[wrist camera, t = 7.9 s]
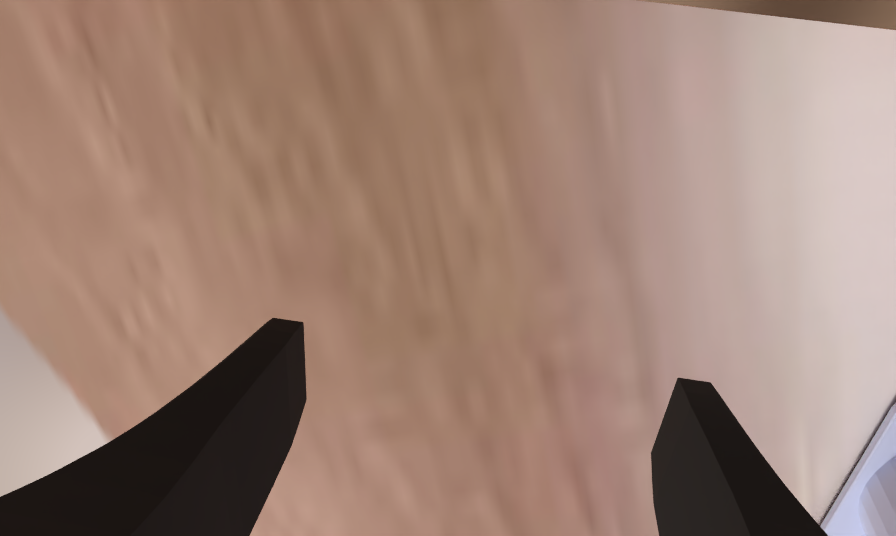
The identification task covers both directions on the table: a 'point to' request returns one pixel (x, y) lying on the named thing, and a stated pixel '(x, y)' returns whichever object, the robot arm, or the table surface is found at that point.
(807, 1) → the walnut block
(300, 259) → the table surface
